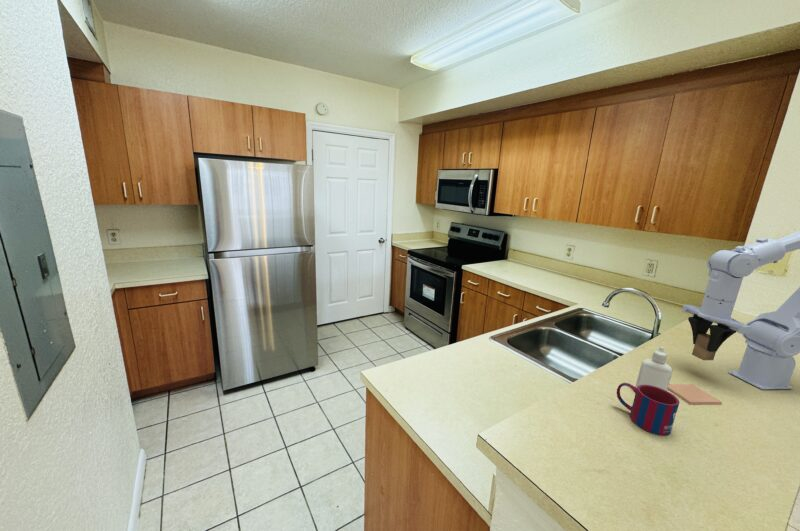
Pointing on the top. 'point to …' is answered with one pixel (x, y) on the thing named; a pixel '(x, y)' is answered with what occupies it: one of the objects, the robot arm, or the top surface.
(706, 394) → the tile
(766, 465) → the top surface
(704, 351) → the block
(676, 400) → the mug
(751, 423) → the top surface
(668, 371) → the eye dropper bottle
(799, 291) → the robot arm
